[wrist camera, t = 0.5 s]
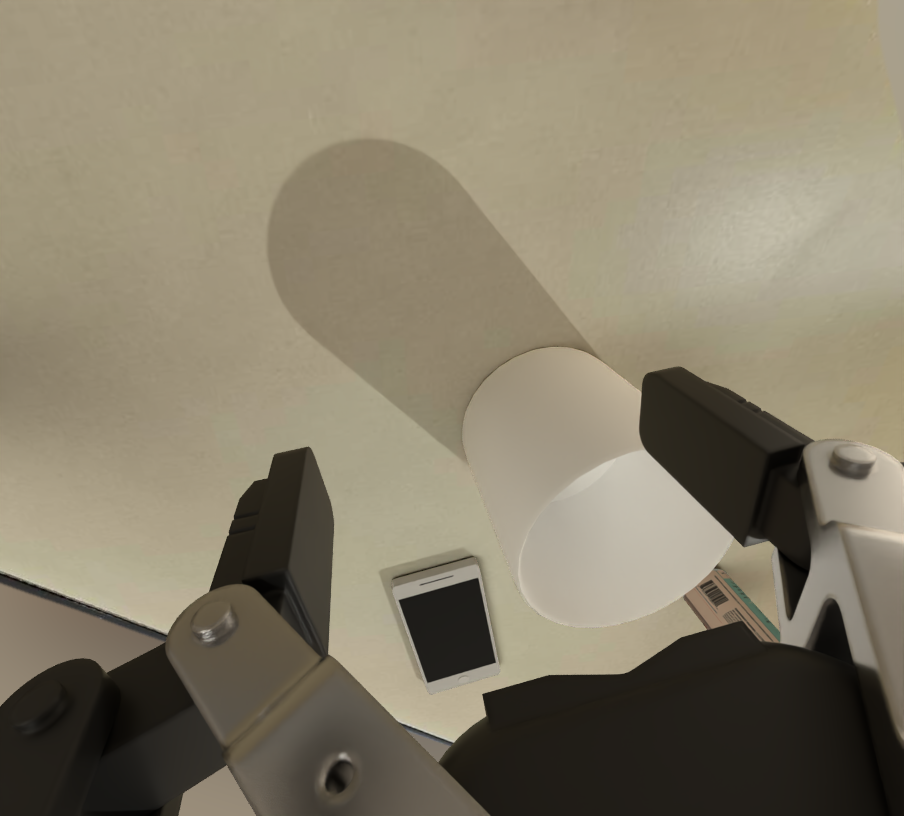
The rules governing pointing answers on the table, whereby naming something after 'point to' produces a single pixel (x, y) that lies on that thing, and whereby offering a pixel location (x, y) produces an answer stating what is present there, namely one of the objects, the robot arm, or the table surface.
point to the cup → (583, 493)
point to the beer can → (728, 606)
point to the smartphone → (448, 624)
